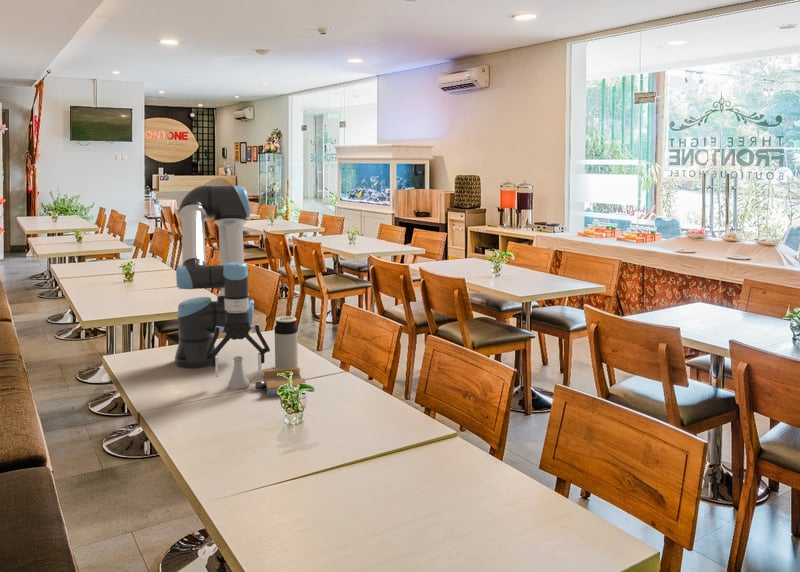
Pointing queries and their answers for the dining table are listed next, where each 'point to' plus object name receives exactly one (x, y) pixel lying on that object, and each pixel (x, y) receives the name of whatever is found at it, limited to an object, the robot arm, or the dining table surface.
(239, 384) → the flask
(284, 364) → the travel mug
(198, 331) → the robot arm
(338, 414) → the dining table surface
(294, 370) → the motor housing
